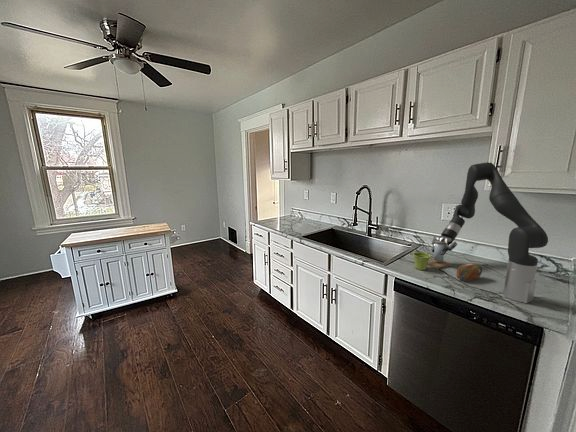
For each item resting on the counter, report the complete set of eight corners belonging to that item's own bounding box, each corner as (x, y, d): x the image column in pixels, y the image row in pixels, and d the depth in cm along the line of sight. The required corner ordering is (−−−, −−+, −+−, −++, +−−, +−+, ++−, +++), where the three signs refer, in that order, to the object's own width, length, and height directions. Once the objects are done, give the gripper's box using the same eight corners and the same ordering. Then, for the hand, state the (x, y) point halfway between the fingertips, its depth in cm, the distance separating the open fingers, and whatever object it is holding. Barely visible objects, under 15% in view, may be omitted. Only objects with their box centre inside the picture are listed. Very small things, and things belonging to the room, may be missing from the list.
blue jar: (445, 260, 148) (447, 241, 145) (439, 262, 145) (441, 243, 143) (436, 257, 153) (438, 239, 150) (430, 259, 150) (432, 240, 148)
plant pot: (411, 270, 143) (413, 256, 141) (411, 264, 151) (412, 251, 149) (430, 272, 139) (431, 258, 137) (428, 266, 147) (430, 253, 145)
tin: (460, 282, 126) (461, 267, 125) (454, 279, 129) (456, 265, 128) (481, 278, 130) (483, 263, 128) (475, 275, 133) (477, 261, 131)
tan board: (452, 265, 148) (452, 263, 147) (439, 269, 143) (439, 267, 142) (436, 260, 156) (436, 258, 156) (423, 263, 152) (424, 261, 151)
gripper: (437, 225, 155) (423, 246, 152) (461, 230, 142) (446, 253, 139) (442, 232, 158) (428, 252, 155) (465, 237, 145) (451, 260, 143)
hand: (437, 253), depth 147 cm, fingers closed on blue jar, 5 cm apart
